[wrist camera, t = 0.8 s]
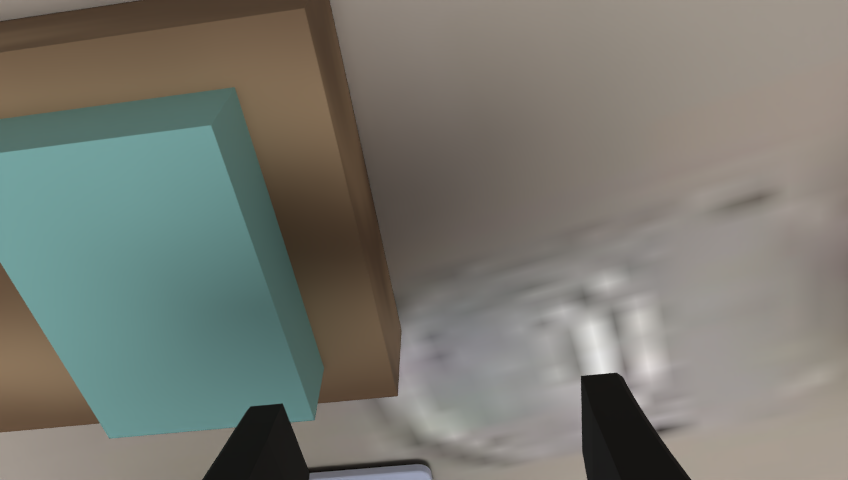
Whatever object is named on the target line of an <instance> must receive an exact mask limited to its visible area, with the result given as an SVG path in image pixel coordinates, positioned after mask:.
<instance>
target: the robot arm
mask: <svg viewBox="0 0 848 480" xmlns="http://www.w3.org/2000/svg"><path fill="white" fill-rule="evenodd" d="M581 400H582V452H583V457H584V463H585V469H586V474H587V480H691V479H690V477H689V476H688V475H687V473H686V472H685V471H684V469H683V468H682V467H681V465H680V464H679V463H678V462H677V460H676V459H675V458H674V456H673V455H672V454H671V452H670V451H669V449H668V448H667V447H666V445H665V444H664V442H663V441H662V440H661V438H660V437H659V435H658V434H657V432H656V431H655V429H654V428H653V426H652V425H651V423H650V422H649V420H648V419H647V417H646V416H645V414H644V413H643V411H642V409H641V408H640V406H639V405H638V403H637V401H636V400H635V398H634V396H633V395H632V393H631V391H630V389H629V388H628V386H627V384H626V382H625V380H624V378H623V377H622V376H621V375H619V374H618V373H609V374H598V375H587V376H581ZM202 480H433V478H432V474H431V470H430V469H429V468H428V467H427V466H425V465H422V464H413V465H401V466H389V467H376V468H364V469H352V470H340V471H327V472H315V473H309V471H308V468H307V465H306V463H305V460H304V458H303V455H302V452H301V450H300V447H299V444H298V442H297V439H296V437H295V434H294V431H293V429H292V426H291V424H290V421H289V418H288V416H287V413H286V410H285V408H284V405H283V403H282V404H271V405H260V406H250V408H249V409H248V410H247V411H246V413H245V414H244V416H243V417H242V419H241V420H240V422H239V424H238V425H237V427H236V428H235V430H234V431H233V433H232V435H231V436H230V438H229V439H228V441H227V443H226V444H225V446H224V447H223V449H222V450H221V452H220V453H219V455H218V457H217V458H216V460H215V461H214V463H213V464H212V466H211V467H210V469H209V470H208V472H207V473H206V475H205V476H204V478H203V479H202Z"/></svg>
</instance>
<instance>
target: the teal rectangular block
mask: <svg viewBox="0 0 848 480" xmlns="http://www.w3.org/2000/svg"><path fill="white" fill-rule="evenodd" d="M0 263H1V264H2V266H3V268H4V269H5V271H6V272H7V274H8V276H9V277H10V279H11V281H12V282H13V284H14V285H15V287H16V289H17V290H18V292H19V293H20V295H21V297H22V298H23V300H24V301H25V303H26V305H27V306H28V308H29V310H30V311H31V313H32V314H33V316H34V318H35V319H36V321H37V322H38V324H39V326H40V327H41V329H42V330H43V332H44V334H45V335H46V337H47V339H48V340H49V342H50V343H51V345H52V347H53V348H54V350H55V351H56V353H57V355H58V356H59V358H60V360H61V361H62V363H63V364H64V366H65V368H66V369H67V371H68V372H69V374H70V376H71V377H72V379H73V380H74V382H75V384H76V385H77V387H78V389H79V390H80V392H81V393H82V395H83V397H84V398H85V400H86V401H87V403H88V405H89V406H90V408H91V410H92V411H93V413H94V414H95V416H96V418H97V419H98V421H99V422H100V424H101V426H102V427H103V429H104V430H105V432H106V434H107V435H108V437H109V439H110V438H121V437H132V436H143V435H155V434H166V433H177V432H188V431H199V430H211V429H222V428H233V427H237V425H238V424H239V422H240V420H241V419H242V417H243V416H244V414H245V413H246V411H247V410H248V409H249V408H250V406H260V405H271V404H282V403H283V405H284V408H285V410H286V413H287V416H288V418H289V421H290V422H301V421H312V420H315V415H316V410H317V404H318V399H319V393H320V388H321V382H322V377H323V371H324V366H323V363H322V360H321V357H320V354H319V350H318V347H317V344H316V341H315V338H314V335H313V332H312V328H311V325H310V322H309V319H308V316H307V313H306V310H305V306H304V303H303V300H302V297H301V294H300V291H299V288H298V284H297V281H296V278H295V275H294V272H293V269H292V266H291V262H290V259H289V256H288V253H287V250H286V247H285V244H284V240H283V237H282V234H281V231H280V228H279V225H278V222H277V218H276V215H275V212H274V209H273V206H272V203H271V200H270V196H269V193H268V190H267V187H266V184H265V181H264V178H263V174H262V171H261V168H260V165H259V162H258V159H257V156H256V152H255V149H254V146H253V143H252V140H251V137H250V134H249V130H248V127H247V124H246V121H245V118H244V115H243V112H242V108H241V105H240V102H239V99H238V96H237V93H236V90H235V87H232V88H225V89H218V90H210V91H203V92H196V93H188V94H181V95H174V96H166V97H159V98H152V99H144V100H137V101H129V102H122V103H115V104H107V105H100V106H93V107H85V108H78V109H71V110H63V111H56V112H49V113H41V114H34V115H27V116H19V117H12V118H4V119H0Z"/></svg>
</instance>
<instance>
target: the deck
mask: <svg viewBox="0 0 848 480" xmlns="http://www.w3.org/2000/svg"><path fill="white" fill-rule="evenodd" d="M232 87H235V90H236V93H237V96H238V99H239V102H240V105H241V108H242V112H243V115H244V118H245V121H246V124H247V127H248V130H249V134H250V137H251V140H252V143H253V146H254V149H255V152H256V156H257V159H258V162H259V165H260V168H261V171H262V174H263V178H264V181H265V184H266V187H267V190H268V193H269V196H270V200H271V203H272V206H273V209H274V212H275V215H276V218H277V222H278V225H279V228H280V231H281V234H282V237H283V240H284V244H285V247H286V250H287V253H288V256H289V259H290V262H291V266H292V269H293V272H294V275H295V278H296V281H297V284H298V288H299V291H300V294H301V297H302V300H303V303H304V306H305V310H306V313H307V316H308V319H309V322H310V325H311V328H312V332H313V335H314V338H315V341H316V344H317V347H318V350H319V354H320V357H321V360H322V363H323V366H324V371H323V377H322V382H321V388H320V393H319V399H318V403H328V402H339V401H350V400H361V399H371V398H382V397H393V396H398V382H399V364H400V347H401V326H400V322H399V317H398V313H397V308H396V303H395V299H394V294H393V290H392V285H391V281H390V276H389V271H388V267H387V262H386V258H385V253H384V249H383V244H382V239H381V235H380V230H379V226H378V221H377V216H376V212H375V207H374V203H373V198H372V194H371V189H370V184H369V180H368V175H367V171H366V166H365V161H364V157H363V152H362V148H361V143H360V139H359V134H358V129H357V125H356V120H355V116H354V111H353V107H352V102H351V97H350V93H349V88H348V84H347V79H346V74H345V70H344V65H343V61H342V56H341V52H340V47H339V42H338V38H337V33H336V29H335V24H334V19H333V15H332V10H331V6H330V1H329V0H141V1H134V2H128V3H121V4H114V5H108V6H101V7H94V8H88V9H81V10H74V11H68V12H61V13H54V14H48V15H41V16H34V17H28V18H21V19H14V20H8V21H1V22H0V119H4V118H12V117H19V116H27V115H34V114H41V113H49V112H56V111H63V110H71V109H78V108H85V107H93V106H100V105H107V104H115V103H122V102H129V101H137V100H144V99H152V98H159V97H166V96H174V95H181V94H188V93H196V92H203V91H210V90H218V89H225V88H232ZM98 423H100V422H99V421H98V419H97V418H96V416H95V414H94V413H93V411H92V410H91V408H90V406H89V405H88V403H87V401H86V400H85V398H84V397H83V395H82V393H81V392H80V390H79V389H78V387H77V385H76V384H75V382H74V380H73V379H72V377H71V376H70V374H69V372H68V371H67V369H66V368H65V366H64V364H63V363H62V361H61V360H60V358H59V356H58V355H57V353H56V351H55V350H54V348H53V347H52V345H51V343H50V342H49V340H48V339H47V337H46V335H45V334H44V332H43V330H42V329H41V327H40V326H39V324H38V322H37V321H36V319H35V318H34V316H33V314H32V313H31V311H30V310H29V308H28V306H27V305H26V303H25V301H24V300H23V298H22V297H21V295H20V293H19V292H18V290H17V289H16V287H15V285H14V284H13V282H12V281H11V279H10V277H9V276H8V274H7V272H6V271H5V269H4V268H3V266H2V264H1V263H0V432H10V431H21V430H32V429H43V428H54V427H65V426H76V425H87V424H98Z"/></svg>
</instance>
